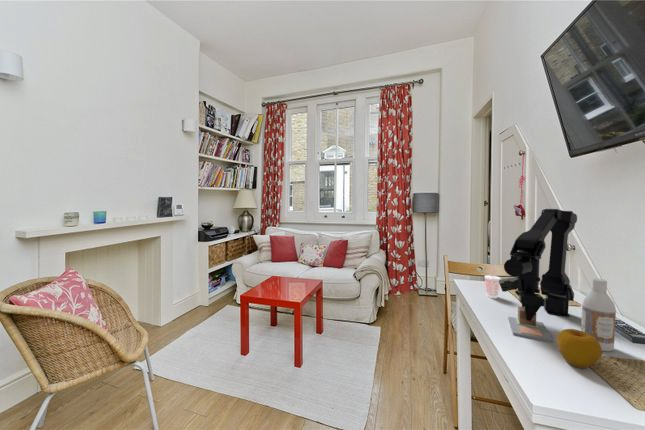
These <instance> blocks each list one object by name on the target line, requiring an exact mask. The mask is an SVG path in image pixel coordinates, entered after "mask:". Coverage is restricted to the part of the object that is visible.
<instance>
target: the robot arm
mask: <svg viewBox="0 0 645 430" xmlns="http://www.w3.org/2000/svg"><path fill="white" fill-rule="evenodd" d="M577 221H578V215H577V214H576V213H574V212H573V210H563V209H558V208H545V209H542V210H541V213H540V216H539V217H538V218H537V219H536V221H534V224H533V225H532V226H531V228H530V229H529V230H528V231H524V232H522V233H520V234H519V236H518V237H517V238H516V239H515V241H514V243H513V245H512V248H511V251H510V252H509V255H510V258H509V259H507V260H506V261H505V262H504V264H503V270H504V271H505V273H506V274H507V275H509V276H510V277H509V278H503V279H500V280H499V288H500V289H501V291H502V292H504V293H505V292H508V291H514V293H515V294H516V295H517V296H518V298H519V299H518V301H519V303H520V304H521V307H524V309H525V314H526V320H528V321H531V320H532V318H533V317H534V315H535V314H536V315H537V313H538V311H539V310H540V308H542V307H543V309H544V310H545V311H546V313H547V314H549V315H556V316H562V317H569V318H570V316H571V315H570V314H569V307H570V305H569V304H570V303H569V302H570V301H571V302H574V301H575V300H574V299H575V291H574V290H573V288H572V286H571V285H570V284H571V281H570V278H569V276H568V275H567V273H566V260H567V250H568V240H569V239H568V238H569V234H570V233H571V232H572V231H573V230H574V229H575V227H576V226H575V225H576V223H577ZM549 232H551V240H550V250H549V251H550V252H549V261H548V270H547V271H546V272H545V273H543V274H542V275H541V277H540V261H541V260H542V255H543V253H544V251H545V249H546V241H545V239H546V237H547V236H548V234H549ZM539 287H540V288H539ZM540 293H541V294H540ZM543 296H545V297H543Z"/></svg>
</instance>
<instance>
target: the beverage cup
mask: <svg viewBox="0 0 645 430" xmlns="http://www.w3.org/2000/svg"><path fill="white" fill-rule="evenodd" d="M483 277H484V280H485V281H484V282H485V283H484V284H485V286H484V287H485V296H486V297H488V298H490V299H497V298H499V290H500V284H499V280H501V277H500V276H497V275H494V265H492V266H491V275H489V274H488V275H484V276H483Z"/></svg>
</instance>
